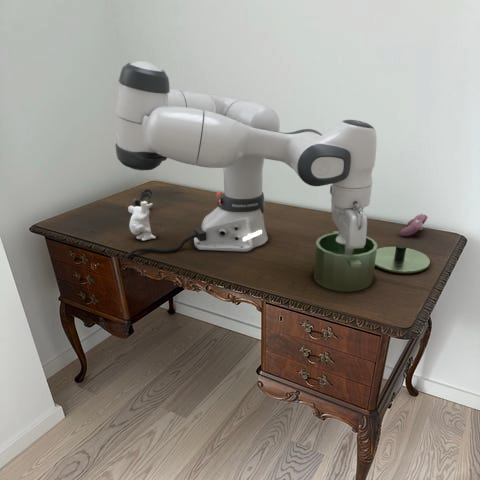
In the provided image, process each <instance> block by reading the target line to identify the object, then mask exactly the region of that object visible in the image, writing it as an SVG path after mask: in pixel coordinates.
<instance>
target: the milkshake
mask: <svg viewBox="0 0 480 480" xmlns="http://www.w3.org/2000/svg"><path fill="white" fill-rule="evenodd" d="M345 246H346V243H345V240H344V238H343V237H342V235H339V236H337V237H336V254H344V248H345Z"/></svg>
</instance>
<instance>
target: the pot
mask: <svg viewBox="0 0 480 480" xmlns="http://www.w3.org/2000/svg"><path fill="white" fill-rule="evenodd" d="M337 236H339V232H338V230H333V231H332V233H326V234H323V235H321V236H320V237H318V238H317V240H316V241H315V248H314V249H315V250H314V265H313V278H314V281H315V282H316V283H317V285H319V286H321V287H323V288H324V289H326V290H330V291H335V292H340V293H341V292H342V293H351V292H359V291H362V290H365V289H367V288H369V287H370V286H371V285H372V283H373V280H374V274H375V273H374V272H375V267H376V266H375V260H376V253H377V249H378V246H379V245H378V243H377V241H376V240H374V239H373V238H371V237H369V236H367V235H366V243H365V246H364V248H358V249H353V253H352V255H344V254H336V237H337Z"/></svg>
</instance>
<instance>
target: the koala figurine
mask: <svg viewBox="0 0 480 480" xmlns="http://www.w3.org/2000/svg"><path fill="white" fill-rule="evenodd" d="M147 202H148V201H143V202H141V207H140V206H136V205H135V206H133V205H129V206H128V207H127V209H128V210H127V211H128V212H129V214H132V215H131V216H130V219H129V224H128V226H129V230H130V232H131V234H132V235H135V236H136V237H135V238H136V239H137V240H141V241H142V242H144V241H147V240H148V241H149V240H154V239H155V240H156V239H157V237H156V235H154V234H153V233H152V230H151V229H152V228H151V224H150V219H149V217H150V209H151V207H152V206H153V204H154V203H153V202H149V203H147ZM149 208H150V209H149Z"/></svg>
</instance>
